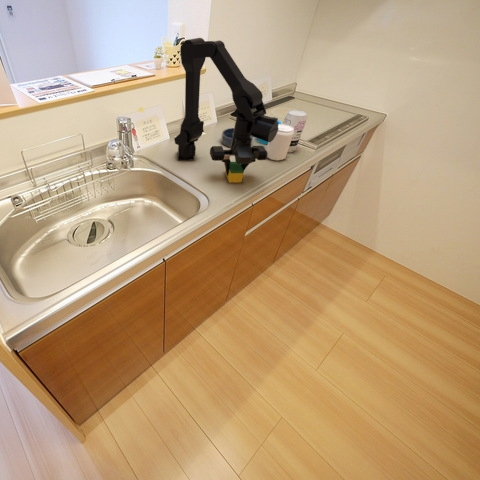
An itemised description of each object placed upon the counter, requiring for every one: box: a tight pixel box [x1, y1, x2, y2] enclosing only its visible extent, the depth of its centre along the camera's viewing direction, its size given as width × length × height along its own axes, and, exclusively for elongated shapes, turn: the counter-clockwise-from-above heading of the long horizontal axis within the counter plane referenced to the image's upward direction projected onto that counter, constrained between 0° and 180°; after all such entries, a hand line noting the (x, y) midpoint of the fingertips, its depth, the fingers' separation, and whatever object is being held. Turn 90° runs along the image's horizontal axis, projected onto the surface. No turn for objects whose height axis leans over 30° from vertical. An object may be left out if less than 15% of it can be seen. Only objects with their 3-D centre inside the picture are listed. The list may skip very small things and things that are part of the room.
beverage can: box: [265, 123, 294, 161], centre depth 109 cm, size 8×8×12 cm
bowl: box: [220, 127, 254, 148], centre depth 121 cm, size 13×13×4 cm
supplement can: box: [282, 109, 308, 154], centre depth 113 cm, size 8×8×15 cm
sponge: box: [224, 161, 245, 183], centre depth 99 cm, size 7×4×4 cm, turn 2°
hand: (233, 174), depth 100 cm, fingers closed on sponge, 4 cm apart
